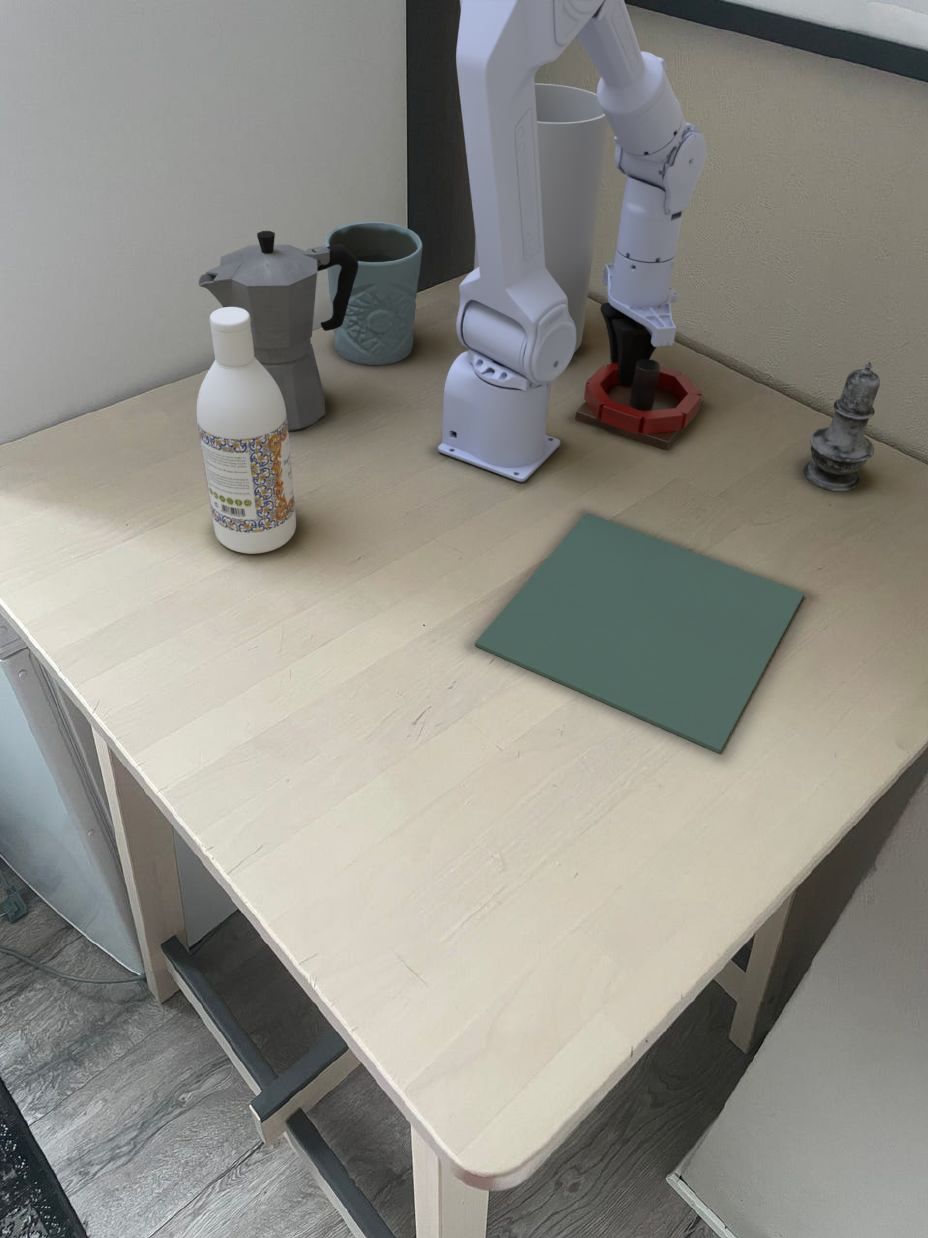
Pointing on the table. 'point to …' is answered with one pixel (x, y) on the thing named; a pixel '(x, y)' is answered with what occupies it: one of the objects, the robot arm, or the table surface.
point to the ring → (635, 418)
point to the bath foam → (244, 442)
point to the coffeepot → (284, 312)
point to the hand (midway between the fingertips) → (625, 376)
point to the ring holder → (639, 403)
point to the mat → (646, 628)
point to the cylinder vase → (570, 187)
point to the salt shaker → (845, 435)
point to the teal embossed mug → (377, 291)
